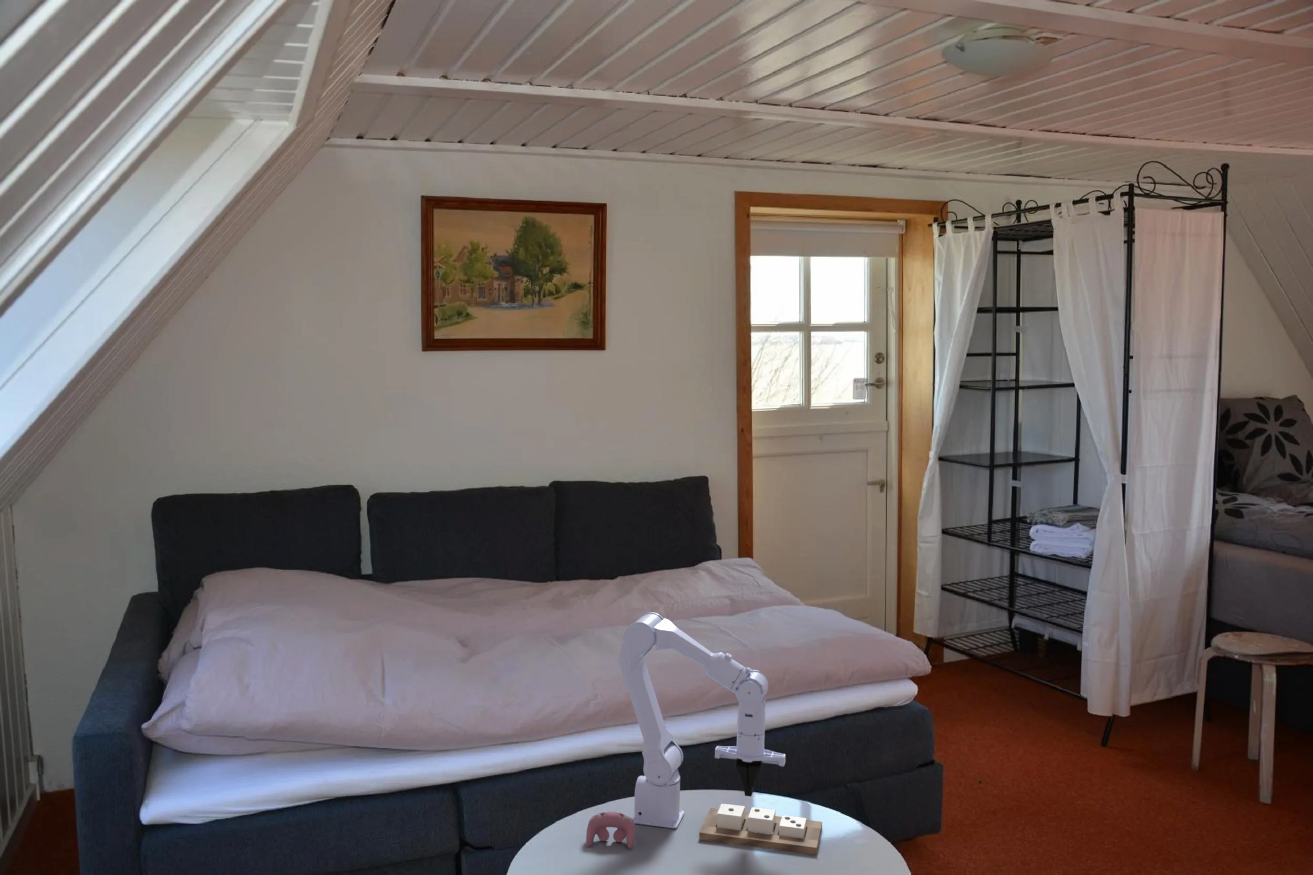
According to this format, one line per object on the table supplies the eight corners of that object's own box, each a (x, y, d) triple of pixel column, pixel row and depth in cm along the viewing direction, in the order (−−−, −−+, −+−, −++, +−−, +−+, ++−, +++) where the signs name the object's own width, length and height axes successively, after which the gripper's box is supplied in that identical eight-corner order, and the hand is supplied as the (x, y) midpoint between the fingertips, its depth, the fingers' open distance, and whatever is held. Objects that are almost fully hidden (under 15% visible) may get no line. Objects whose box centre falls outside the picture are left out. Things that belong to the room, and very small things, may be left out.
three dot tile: (779, 839, 218) (779, 824, 218) (782, 828, 223) (782, 814, 222) (803, 842, 217) (803, 828, 216) (806, 831, 221) (806, 817, 221)
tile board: (699, 839, 218) (699, 832, 218) (710, 814, 230) (710, 807, 230) (816, 854, 213) (816, 847, 212) (822, 828, 224) (822, 821, 224)
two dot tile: (747, 831, 219) (748, 816, 219) (751, 820, 224) (751, 806, 224) (771, 834, 218) (772, 819, 218) (775, 823, 223) (775, 809, 223)
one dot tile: (716, 827, 221) (717, 812, 221) (721, 816, 226) (721, 802, 225) (740, 830, 220) (740, 815, 219) (744, 819, 224) (744, 805, 224)
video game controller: (635, 849, 217) (637, 813, 219) (632, 849, 213) (635, 812, 215) (587, 846, 218) (589, 810, 220) (584, 846, 214) (586, 809, 216)
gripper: (712, 733, 218) (710, 797, 219) (783, 741, 214) (780, 806, 216) (719, 722, 225) (717, 783, 226) (787, 729, 221) (785, 792, 222)
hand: (748, 794), depth 221 cm, fingers closed
